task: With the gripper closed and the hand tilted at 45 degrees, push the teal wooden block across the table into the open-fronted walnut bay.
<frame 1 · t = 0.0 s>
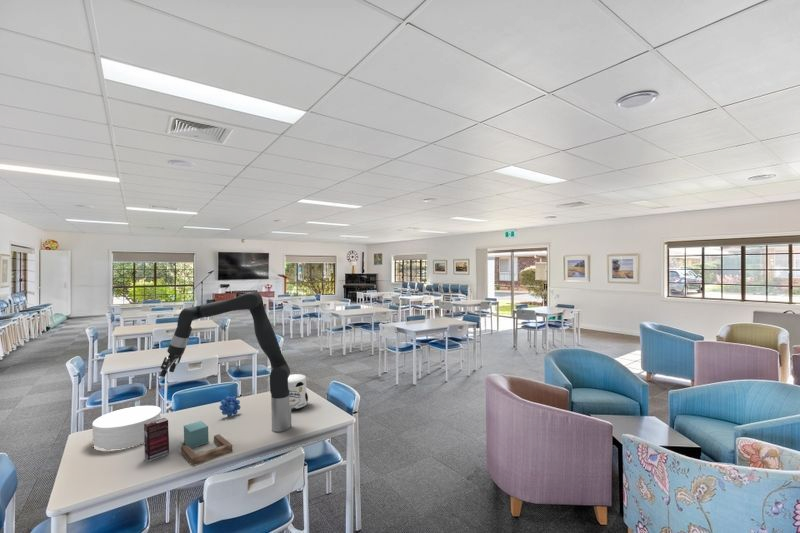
hand: (166, 374, 189), 31 cm above the table, tool tilted 20°, fingers open, 8 cm apart
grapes: (230, 417, 211), on the table
plate stack: (128, 438, 187), on the table
supplement box: (156, 457, 167), on the table
milk container: (293, 407, 225), on the table
walnut bay: (206, 452, 170), on the table
teal block: (196, 442, 181), on the table
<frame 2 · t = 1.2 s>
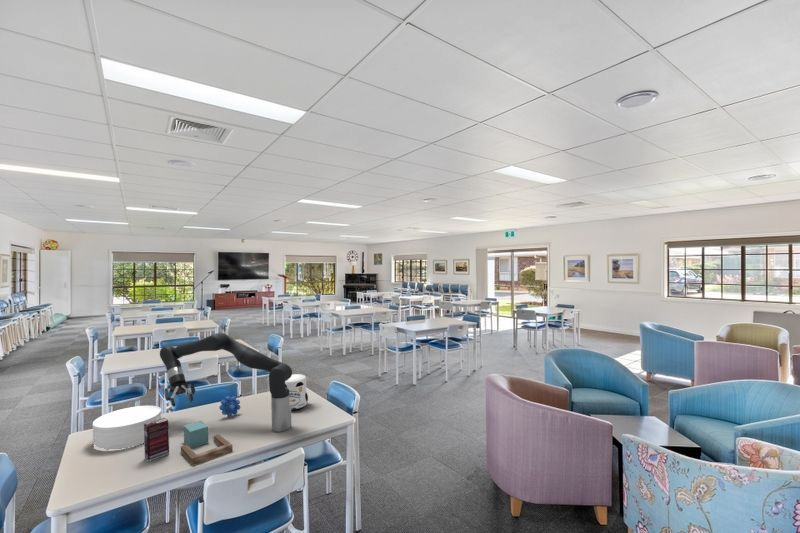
hand: (183, 403, 194), 14 cm above the table, tool tilted 45°, fingers open, 7 cm apart
nothing on the table moved.
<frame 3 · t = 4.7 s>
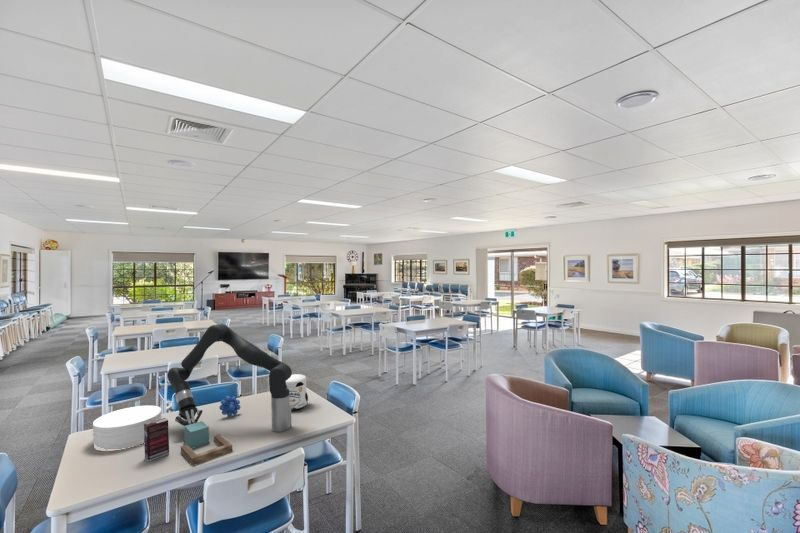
hand: (193, 431, 184), 4 cm above the table, tool tilted 45°, fingers closed
teal block: (196, 442, 180), on the table, touching gripper
everything else where it was.
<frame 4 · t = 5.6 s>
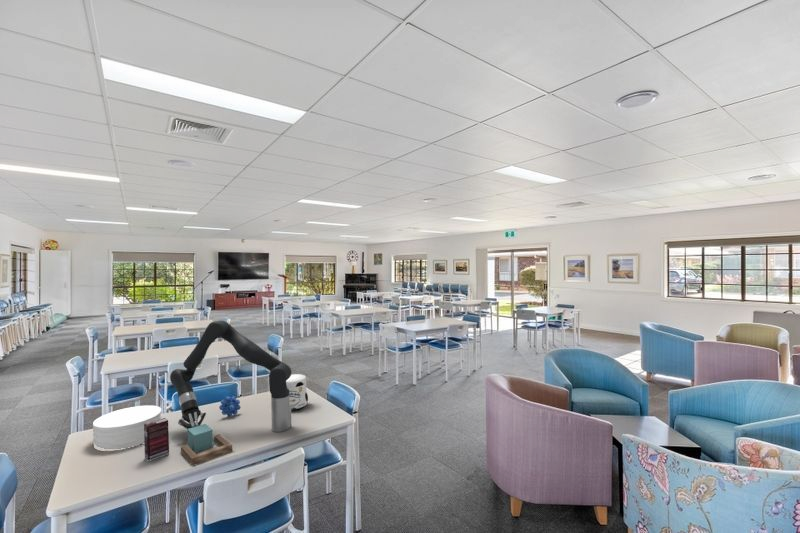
hand: (196, 434, 181), 4 cm above the table, tool tilted 45°, fingers closed
teal block: (200, 446, 177), on the table, touching gripper
everything else where it was.
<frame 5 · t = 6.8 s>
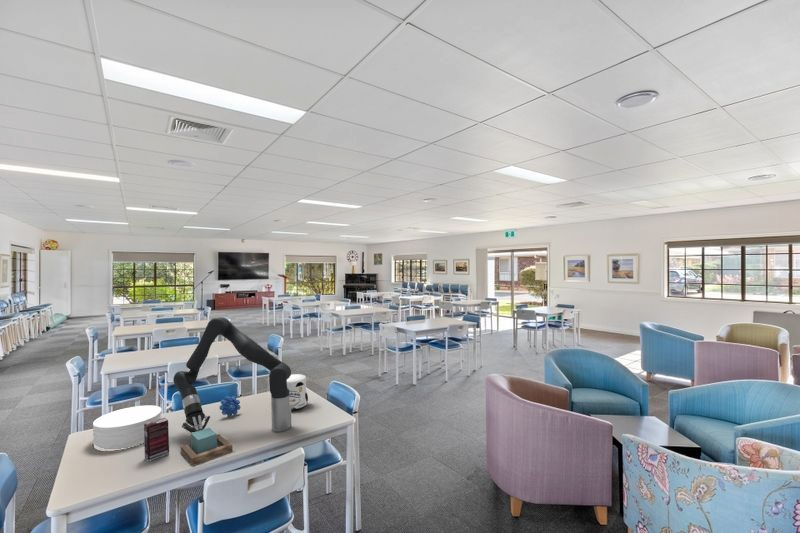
hand: (200, 438, 176), 4 cm above the table, tool tilted 45°, fingers closed
teal block: (204, 450, 172), on the table
everything else where it was.
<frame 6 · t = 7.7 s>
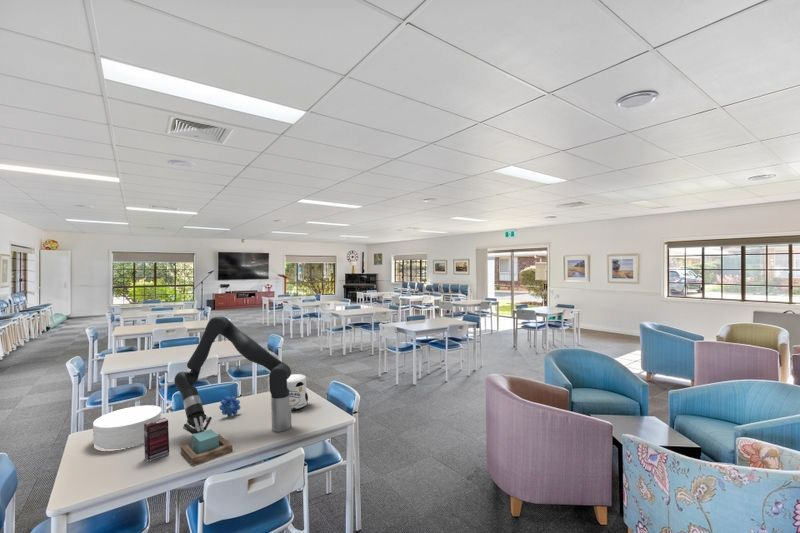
hand: (202, 439, 175), 4 cm above the table, tool tilted 45°, fingers closed
teal block: (205, 452, 171), on the table
everything else where it was.
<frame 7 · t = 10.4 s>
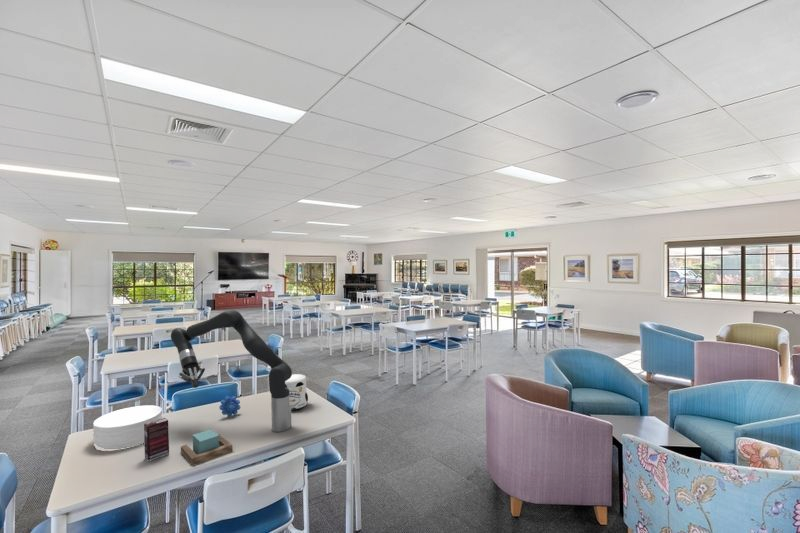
hand: (196, 386, 190), 24 cm above the table, tool tilted 45°, fingers closed
nothing on the table moved.
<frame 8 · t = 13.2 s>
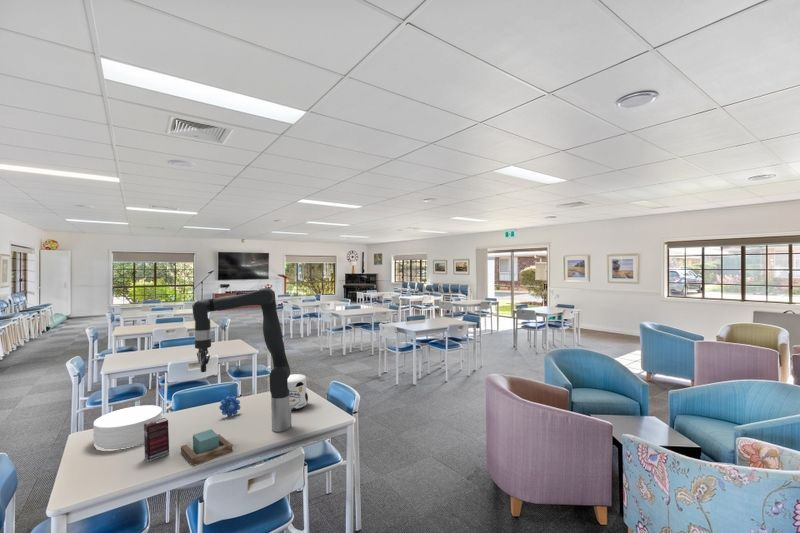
hand: (203, 371, 190), 32 cm above the table, tool pointing down, fingers closed
nothing on the table moved.
at the end: teal block 1.4 cm from the target spot on the walnut bay, point 0.0 cm above the walnut bay's base; teal block tilted 0°; teal block moved 14.6 cm from its start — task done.
